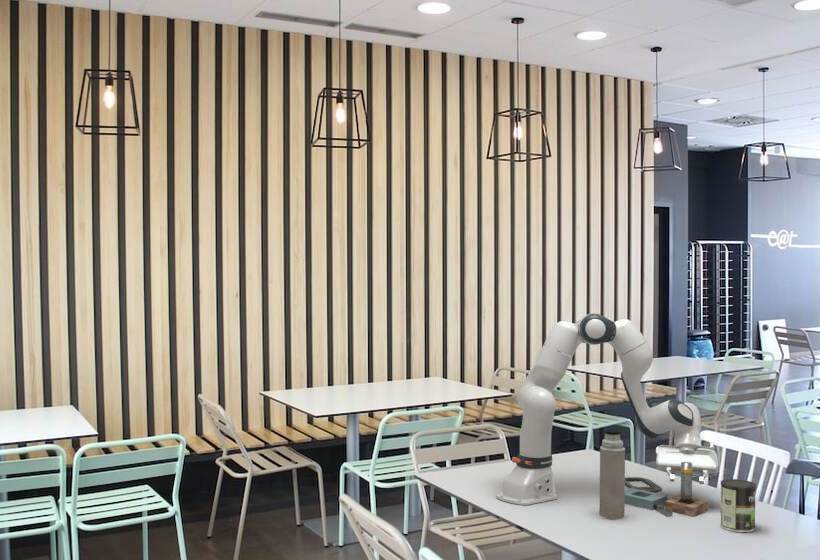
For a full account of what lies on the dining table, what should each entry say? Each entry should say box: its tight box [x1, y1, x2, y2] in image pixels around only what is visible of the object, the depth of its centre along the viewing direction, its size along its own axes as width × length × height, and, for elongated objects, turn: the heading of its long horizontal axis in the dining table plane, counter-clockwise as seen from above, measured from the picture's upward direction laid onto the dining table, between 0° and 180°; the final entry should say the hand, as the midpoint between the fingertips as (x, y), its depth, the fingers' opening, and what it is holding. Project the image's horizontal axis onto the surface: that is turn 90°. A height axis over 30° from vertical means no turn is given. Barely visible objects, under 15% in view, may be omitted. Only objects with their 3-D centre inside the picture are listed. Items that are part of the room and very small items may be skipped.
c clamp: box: [625, 476, 663, 493], centre depth 314 cm, size 20×17×3 cm
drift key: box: [653, 504, 673, 518], centre depth 282 cm, size 8×2×2 cm, turn 14°
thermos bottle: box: [599, 429, 626, 520], centre depth 278 cm, size 8×8×28 cm
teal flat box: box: [625, 487, 669, 511], centre depth 293 cm, size 10×14×3 cm
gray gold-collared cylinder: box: [680, 462, 693, 504], centre depth 284 cm, size 4×4×16 cm
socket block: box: [664, 495, 709, 518], centre depth 284 cm, size 10×10×3 cm
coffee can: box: [720, 478, 757, 533], centre depth 266 cm, size 10×10×14 cm
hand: (686, 481), depth 284 cm, fingers open, 8 cm apart
